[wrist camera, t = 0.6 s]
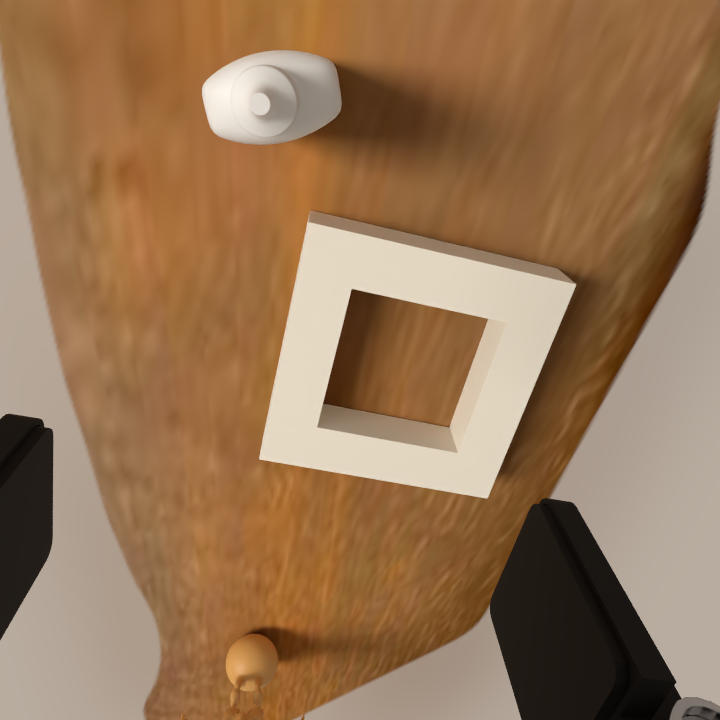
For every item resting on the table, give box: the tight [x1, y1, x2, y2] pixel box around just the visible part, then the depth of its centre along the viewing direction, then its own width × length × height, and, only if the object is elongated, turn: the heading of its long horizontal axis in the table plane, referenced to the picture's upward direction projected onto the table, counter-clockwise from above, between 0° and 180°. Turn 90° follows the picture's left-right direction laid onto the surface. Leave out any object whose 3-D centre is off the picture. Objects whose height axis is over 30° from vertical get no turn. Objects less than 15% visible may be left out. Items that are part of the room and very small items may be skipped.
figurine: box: [181, 634, 304, 720], centre depth 42 cm, size 8×6×12 cm
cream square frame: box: [259, 210, 577, 498], centre depth 36 cm, size 15×15×3 cm
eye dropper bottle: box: [202, 50, 342, 145], centre depth 25 cm, size 4×6×12 cm
